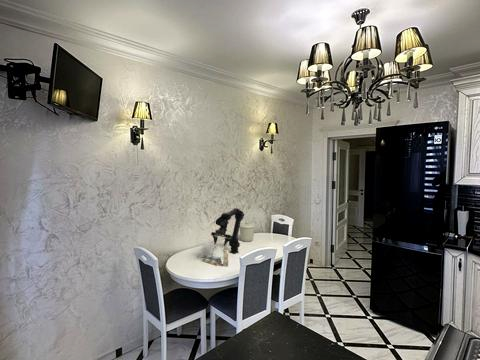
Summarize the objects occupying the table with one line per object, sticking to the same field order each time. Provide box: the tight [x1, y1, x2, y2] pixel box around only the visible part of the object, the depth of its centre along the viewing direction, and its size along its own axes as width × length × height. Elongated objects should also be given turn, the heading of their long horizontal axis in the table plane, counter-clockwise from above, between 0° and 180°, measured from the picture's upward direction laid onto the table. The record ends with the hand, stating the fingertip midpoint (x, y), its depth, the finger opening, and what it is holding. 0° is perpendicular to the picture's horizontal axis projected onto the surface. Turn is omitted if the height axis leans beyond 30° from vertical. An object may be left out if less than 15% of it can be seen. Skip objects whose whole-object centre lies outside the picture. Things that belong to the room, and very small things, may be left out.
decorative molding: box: [197, 241, 216, 259], centre depth 249 cm, size 34×5×10 cm
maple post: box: [222, 249, 229, 268], centre depth 214 cm, size 4×4×13 cm
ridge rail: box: [202, 254, 223, 267], centre depth 221 cm, size 16×6×5 cm, turn 55°
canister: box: [239, 221, 256, 243], centre depth 287 cm, size 18×18×21 cm
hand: (219, 245), depth 223 cm, fingers open, 9 cm apart
